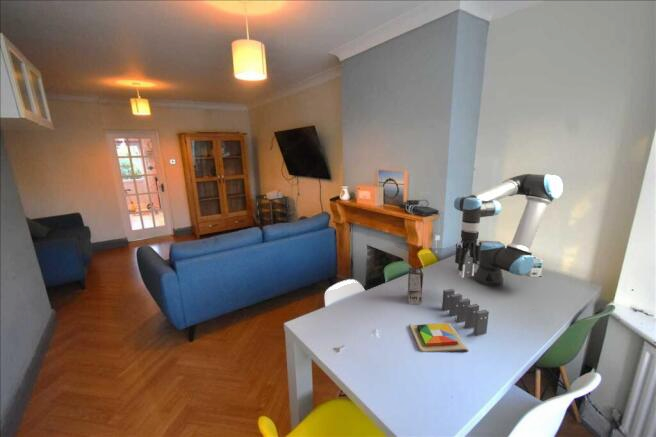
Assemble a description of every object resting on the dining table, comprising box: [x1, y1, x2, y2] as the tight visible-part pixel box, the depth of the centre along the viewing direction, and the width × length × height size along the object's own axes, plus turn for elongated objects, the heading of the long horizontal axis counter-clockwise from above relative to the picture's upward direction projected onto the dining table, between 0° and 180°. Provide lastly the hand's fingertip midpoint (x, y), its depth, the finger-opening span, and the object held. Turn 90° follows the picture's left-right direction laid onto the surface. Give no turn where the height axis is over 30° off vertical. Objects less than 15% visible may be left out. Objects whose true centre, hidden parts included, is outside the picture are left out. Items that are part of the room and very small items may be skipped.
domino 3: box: [456, 297, 472, 323], centre depth 128 cm, size 2×5×10 cm, turn 107°
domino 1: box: [441, 288, 456, 312], centre depth 137 cm, size 2×5×10 cm, turn 107°
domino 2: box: [448, 293, 463, 317], centre depth 132 cm, size 2×5×10 cm, turn 107°
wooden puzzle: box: [408, 322, 469, 353], centre depth 117 cm, size 17×19×4 cm
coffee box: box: [407, 267, 424, 305], centre depth 146 cm, size 9×6×16 cm
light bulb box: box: [526, 254, 544, 278], centre depth 176 cm, size 11×7×11 cm, turn 179°
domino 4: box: [464, 255, 473, 278], centre depth 140 cm, size 2×5×10 cm, turn 107°
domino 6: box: [472, 309, 490, 336], centre depth 118 cm, size 2×5×10 cm, turn 107°
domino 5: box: [464, 303, 480, 330], centre depth 123 cm, size 2×5×10 cm, turn 107°
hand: (466, 275), depth 141 cm, fingers closed on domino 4, 5 cm apart
